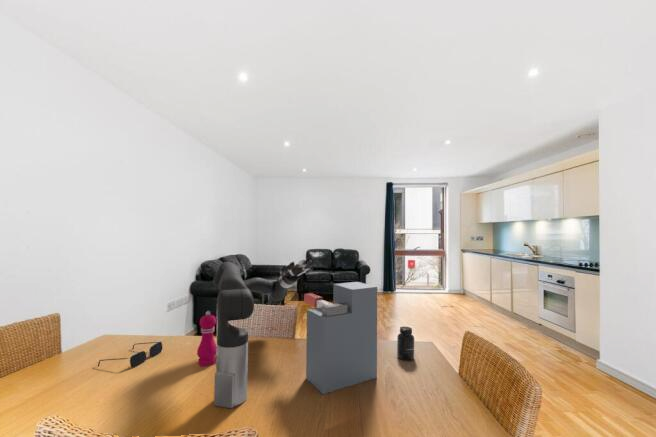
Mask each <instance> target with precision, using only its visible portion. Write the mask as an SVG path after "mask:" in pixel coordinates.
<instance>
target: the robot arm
mask: <svg viewBox="0 0 656 437" xmlns="http://www.w3.org/2000/svg"><path fill="white" fill-rule="evenodd" d="M313 266H314V264H313V261H312V260H309V261H308V262H306V264H301V265H299V266H296V265H295V261H291V262H290V263H289V264H287V265H283V266H282V267H281V268H280V270H279V274H280V276H279V277H278V278H277V279H266V278H262V277H257V276H256V277H252V278H251V277H250V278H248V279H245V280H243V278H242V275H241V273H242V272H241V271H242V270H241V269H240V267H239V266H238V265H237V264H235V263H234V262H231V261H224V262H222V263H221V264H220V265H219V267H218V269H217V271H216V273H215V274H214V276H213V280H212V283H213V284H214V285H215V286H216V287H217V288H218V290H219V292H218V294H217V297H216V316H217V317H216V324H217V332H216V335H217V336H216V346H217V353H216V362H215V363H216V364H215V366H216V369H215V371H216V372H214V385H213V386H214V389H213V390H214V392H213V395H214V396H213V406H217V407H221V408H226V409H228V408H229V409H233V408H234V407H237V406H239V405H241V404H243V403H244V402H245V401H247V398H248V368H249V366H248V365H249V364H248V361H249V360H248V358H249V356H248V355H249V354H248V353H249V333H248V331H247V330H246V329H244V328H241V327H236V326H234V325H232V324H230V323H229V322H231V321H232V322H233V321H241V320H247V319H249V318H250V317H251V316H252V315H253V313H254V310H255V301H254V296H253V293H252V292H254V293H258V294H262V295H269V294H270V298H271V300H272V301H274V302H279V301H282V300H283V299H285V297H286V295H287V293H288V290H289V289H290V288H291V287H292V286H294V285H295V283H297V281H299V279H300V278H301V275H303V274H305V275H308V274H309V273H310V272H312V271H313V270H314V269H313Z"/></svg>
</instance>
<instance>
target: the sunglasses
mask: <svg viewBox="0 0 656 437" xmlns="http://www.w3.org/2000/svg"><path fill="white" fill-rule="evenodd" d="M146 344H153V345H152V346H150V348H149V351H145V350H141V351H139V352H137V353H135V354H133V355H131V356H130V357H126V358H125V357H122V358H109V359H108V358H107V359H99V361H98V363H97V367H100V363H101V362H103V361H104V362H105V361H115V360H117V361H118V360H119V361H120V360H127V359H129V364H130V366H131V367H132V368H137V367H138V366H140V365H142V364H144V363H145V362H146V360H147V356H149V357H150V358H154V357H156V356H159V354H161V353H162V351H163V344H162V341H152V342H151V341H150V342H139V343H134V344H133V345H132V350H134V349H135V346H136V345H146Z"/></svg>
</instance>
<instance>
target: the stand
mask: <svg viewBox="0 0 656 437" xmlns="http://www.w3.org/2000/svg"><path fill="white" fill-rule="evenodd" d="M332 288H333V292H332V293H333V297H332V299H333V300H332V301H333V303H332V304H337V303H344V304H347V314H342V315H335V316H329V317H326V316H324V315H322V310H321V309H319V308H317V307H312V308H307V309H306V345H305V346H306V347H305V348H306V349H305V350H306V353H305V356H306V357H305V360H306V362H305V363H306V364H305V372H306V373H305V379H306V380H307V381H308V382H310V384H312V386H314V387H315V389H317V390H318V391H319V392H320V393H321V394H322V395H325V394H329V393H332V392H335V390H336V391H338V390H337V389H339V390H341V388H342V389H344V387H345V388H348V387H351V386H355V385H357V384H358V385H359V384H361V383H364V381H365V382H367V381H371V380H373V379H377V378H378V286H376V285H372V284H367V283H364V282H361V281H351V282H341V283H333V287H332ZM328 392H329V393H328Z"/></svg>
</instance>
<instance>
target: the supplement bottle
mask: <svg viewBox="0 0 656 437" xmlns="http://www.w3.org/2000/svg"><path fill="white" fill-rule="evenodd" d="M396 340H397V341H396V342H397V345H396V356H397V358H398V359H400V360H402V361H412V360H414V358H415V335H413V329H412V327H409V326H400V328H399V333H398V334H397V338H396Z"/></svg>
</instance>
